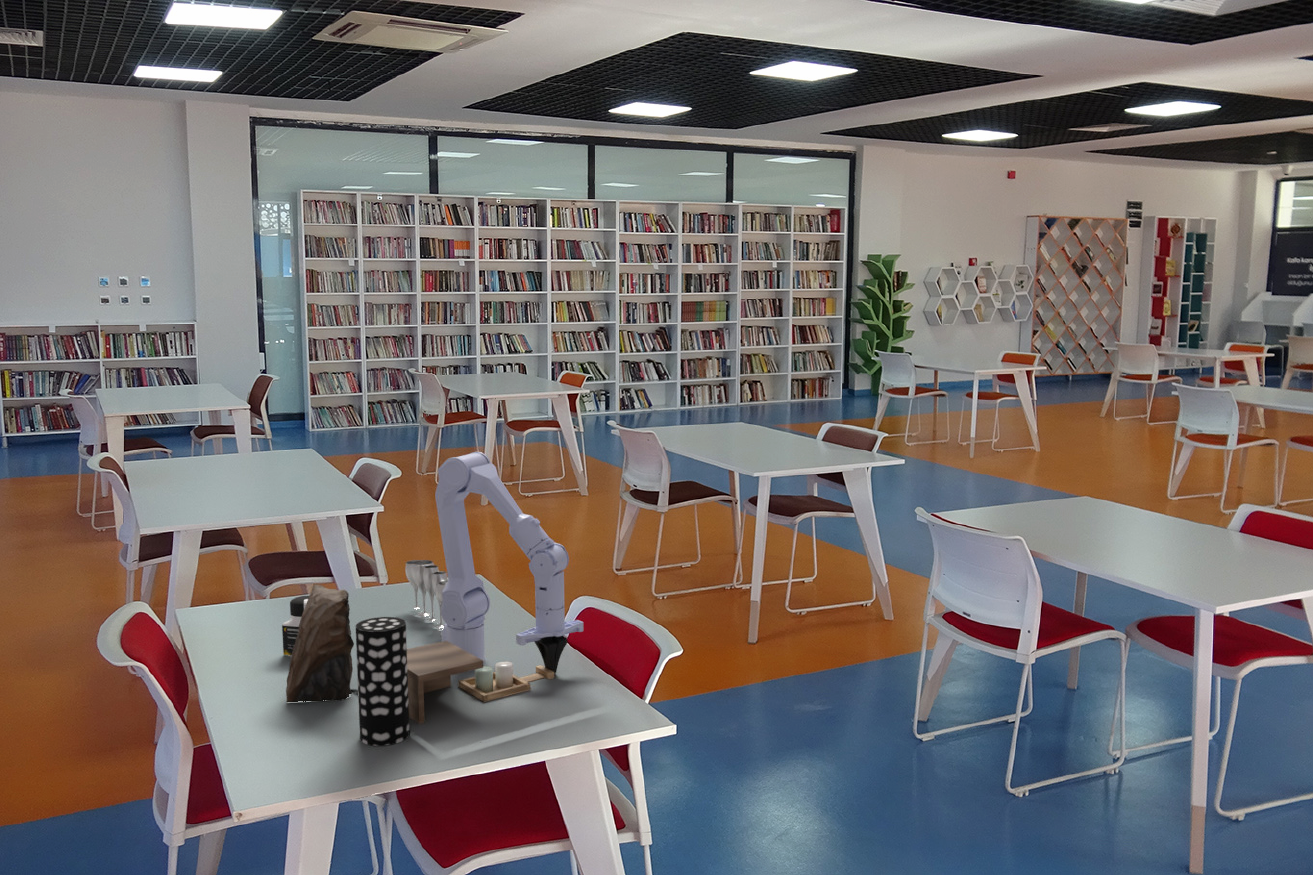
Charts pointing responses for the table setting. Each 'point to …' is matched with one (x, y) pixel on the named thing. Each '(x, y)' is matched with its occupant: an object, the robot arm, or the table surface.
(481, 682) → the grey-green round cylinder
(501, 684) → the off-white round cylinder
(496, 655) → the table surface
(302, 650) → the brown rock
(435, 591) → the goblet set
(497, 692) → the oak tray
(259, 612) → the table surface
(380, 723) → the white-spotted black cylinder
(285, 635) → the medicine bottle
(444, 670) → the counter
